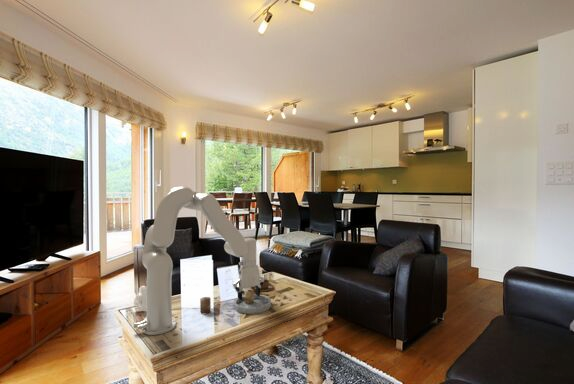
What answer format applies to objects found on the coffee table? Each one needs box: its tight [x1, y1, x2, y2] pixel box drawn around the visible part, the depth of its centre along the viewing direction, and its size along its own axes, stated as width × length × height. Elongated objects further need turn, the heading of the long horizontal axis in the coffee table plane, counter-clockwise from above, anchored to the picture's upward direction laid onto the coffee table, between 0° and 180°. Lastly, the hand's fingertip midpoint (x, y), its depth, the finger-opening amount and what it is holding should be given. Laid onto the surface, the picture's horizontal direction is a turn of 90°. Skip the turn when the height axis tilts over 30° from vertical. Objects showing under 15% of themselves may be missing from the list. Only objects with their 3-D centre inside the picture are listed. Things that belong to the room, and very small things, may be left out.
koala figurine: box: [133, 285, 147, 313], centre depth 137 cm, size 8×7×12 cm
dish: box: [232, 293, 272, 315], centre depth 142 cm, size 18×18×2 cm
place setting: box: [251, 279, 274, 296], centre depth 164 cm, size 18×20×6 cm
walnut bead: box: [199, 296, 212, 314], centre depth 135 cm, size 5×5×6 cm
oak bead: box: [244, 289, 255, 304], centre depth 144 cm, size 5×5×6 cm
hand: (249, 297), depth 144 cm, fingers open, 9 cm apart
